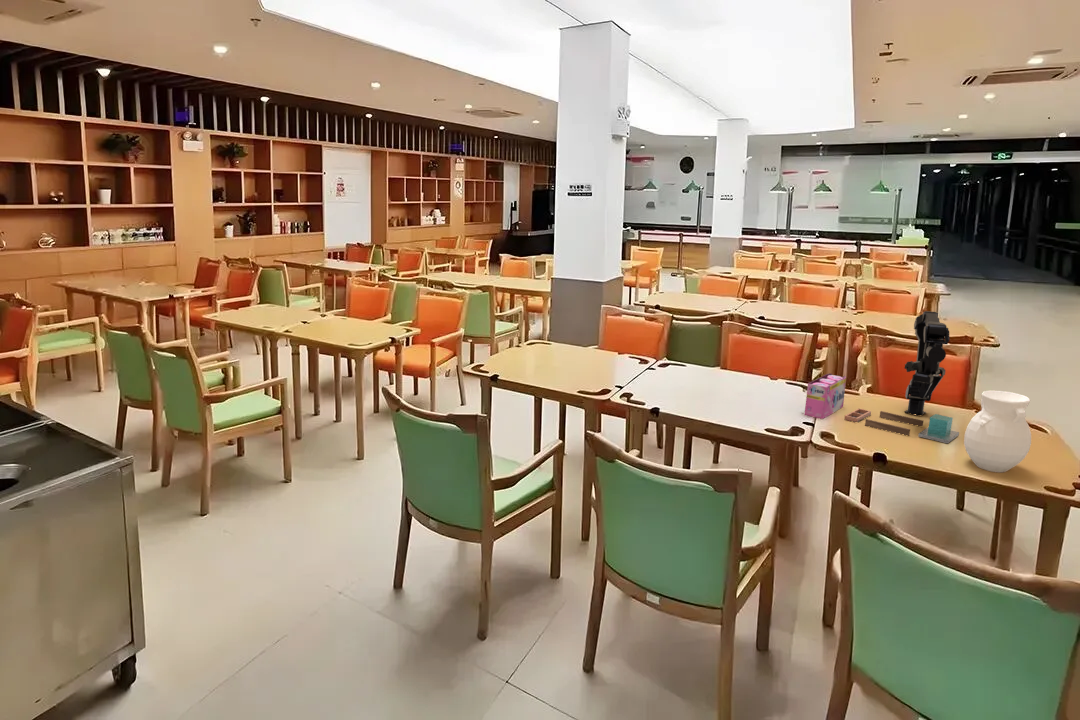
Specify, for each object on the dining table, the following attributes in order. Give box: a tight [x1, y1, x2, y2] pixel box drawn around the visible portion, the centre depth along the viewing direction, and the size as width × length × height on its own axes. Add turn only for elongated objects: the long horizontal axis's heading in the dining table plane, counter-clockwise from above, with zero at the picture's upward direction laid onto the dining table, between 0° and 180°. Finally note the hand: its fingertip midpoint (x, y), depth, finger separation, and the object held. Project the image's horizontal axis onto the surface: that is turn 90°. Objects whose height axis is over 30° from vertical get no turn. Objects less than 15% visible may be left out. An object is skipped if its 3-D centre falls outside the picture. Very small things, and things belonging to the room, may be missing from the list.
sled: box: [917, 413, 960, 444], centre depth 262 cm, size 13×10×7 cm
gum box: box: [803, 372, 847, 420], centre depth 290 cm, size 24×8×14 cm, turn 137°
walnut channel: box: [864, 410, 924, 437], centre depth 273 cm, size 16×16×2 cm
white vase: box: [963, 389, 1032, 473], centre depth 231 cm, size 19×18×25 cm
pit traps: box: [844, 408, 872, 423], centre depth 283 cm, size 14×5×2 cm, turn 135°
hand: (925, 395), depth 269 cm, fingers open, 9 cm apart
